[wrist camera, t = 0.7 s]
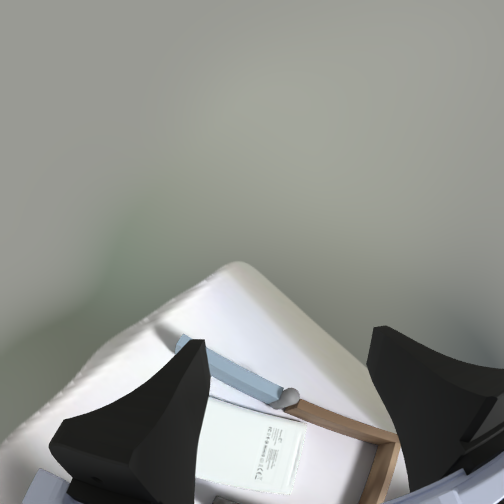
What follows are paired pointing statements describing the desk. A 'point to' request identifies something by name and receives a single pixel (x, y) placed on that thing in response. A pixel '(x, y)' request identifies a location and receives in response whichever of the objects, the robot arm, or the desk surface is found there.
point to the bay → (346, 426)
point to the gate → (246, 380)
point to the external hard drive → (249, 448)
